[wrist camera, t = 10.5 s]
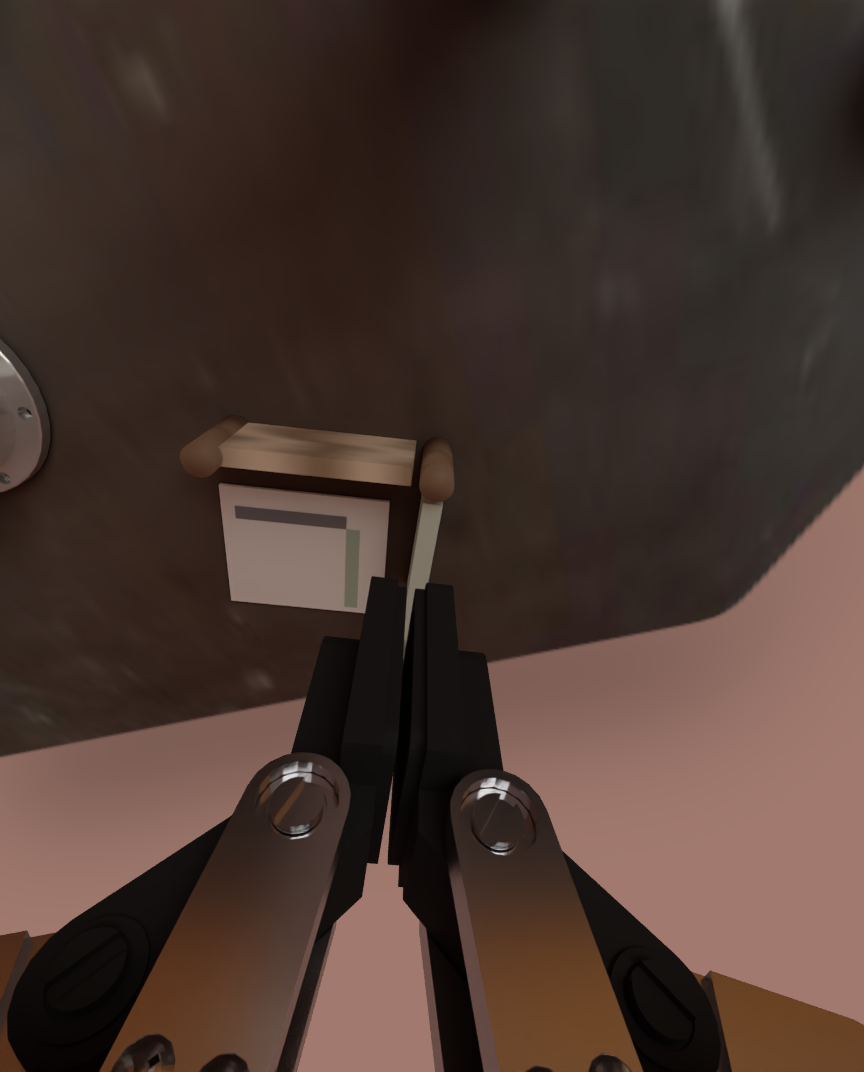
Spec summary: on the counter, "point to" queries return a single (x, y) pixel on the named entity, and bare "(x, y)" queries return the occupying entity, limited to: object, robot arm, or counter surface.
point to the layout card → (303, 546)
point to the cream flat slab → (422, 553)
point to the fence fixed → (320, 455)
